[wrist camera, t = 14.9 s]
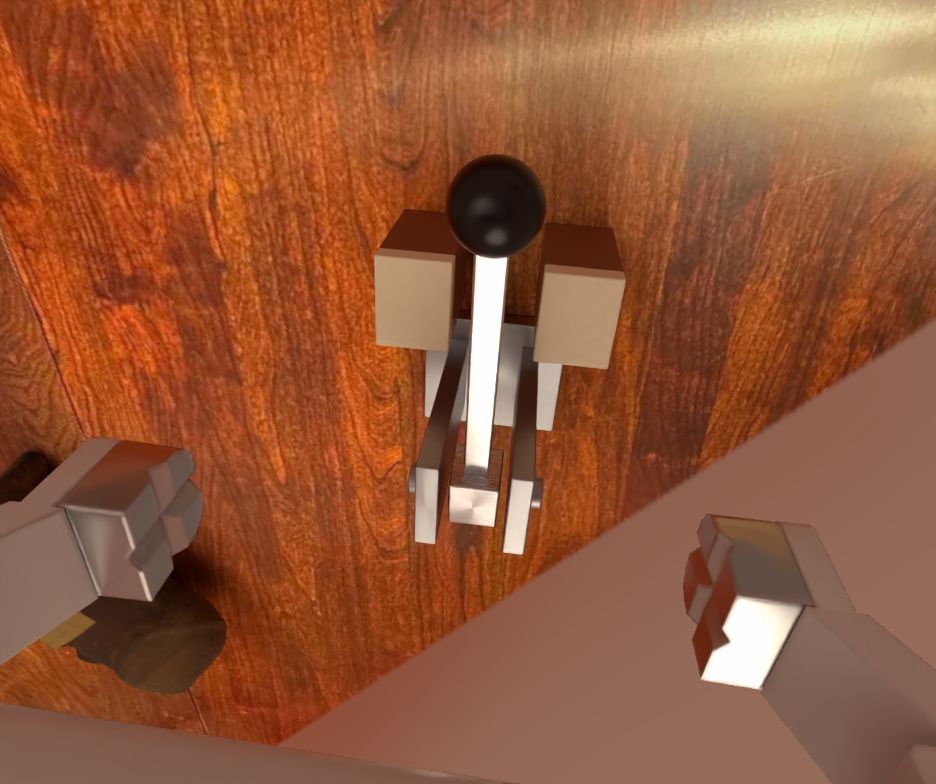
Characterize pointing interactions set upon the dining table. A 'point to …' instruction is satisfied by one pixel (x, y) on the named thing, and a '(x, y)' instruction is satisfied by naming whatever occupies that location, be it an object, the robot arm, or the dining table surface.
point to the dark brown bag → (132, 618)
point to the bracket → (517, 405)
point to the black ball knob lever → (487, 312)
